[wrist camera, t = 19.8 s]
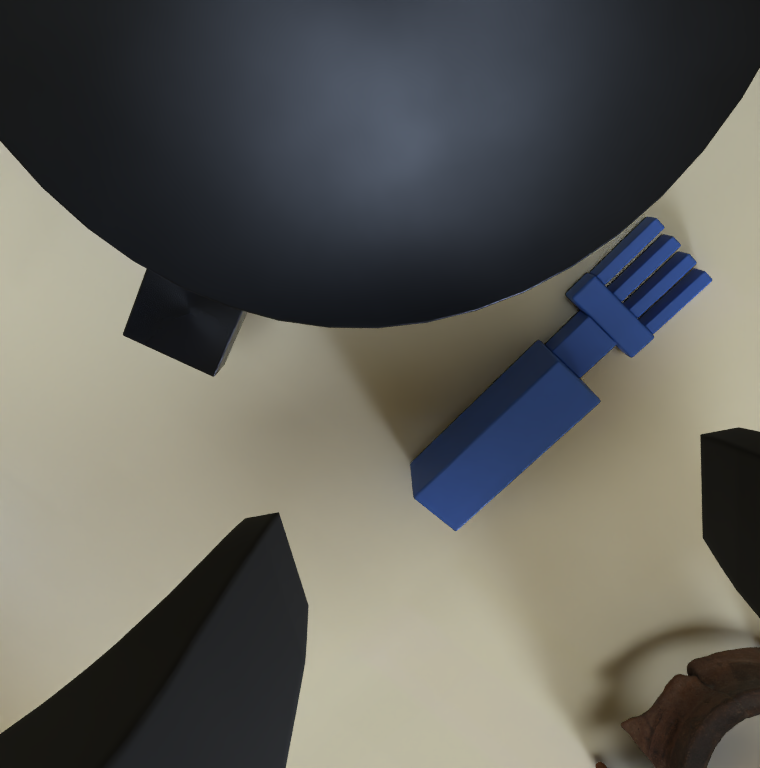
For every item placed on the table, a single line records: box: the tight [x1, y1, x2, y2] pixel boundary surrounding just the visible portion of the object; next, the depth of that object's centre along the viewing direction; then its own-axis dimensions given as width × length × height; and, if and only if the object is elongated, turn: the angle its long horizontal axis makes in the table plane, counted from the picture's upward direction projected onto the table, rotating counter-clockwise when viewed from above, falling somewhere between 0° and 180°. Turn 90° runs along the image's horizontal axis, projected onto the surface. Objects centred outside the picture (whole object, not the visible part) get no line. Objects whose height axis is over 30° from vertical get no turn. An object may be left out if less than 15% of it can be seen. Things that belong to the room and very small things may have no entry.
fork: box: [410, 217, 712, 531], centre depth 19 cm, size 11×3×2 cm, turn 138°
